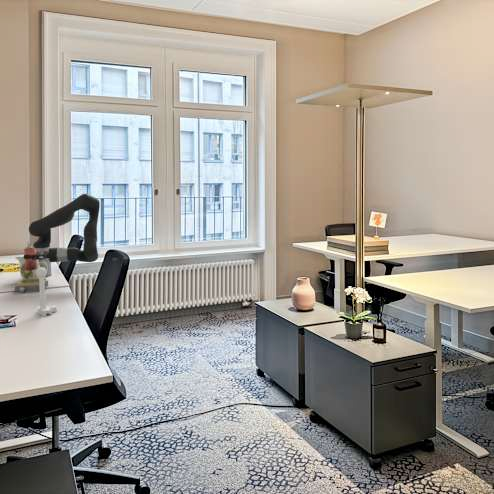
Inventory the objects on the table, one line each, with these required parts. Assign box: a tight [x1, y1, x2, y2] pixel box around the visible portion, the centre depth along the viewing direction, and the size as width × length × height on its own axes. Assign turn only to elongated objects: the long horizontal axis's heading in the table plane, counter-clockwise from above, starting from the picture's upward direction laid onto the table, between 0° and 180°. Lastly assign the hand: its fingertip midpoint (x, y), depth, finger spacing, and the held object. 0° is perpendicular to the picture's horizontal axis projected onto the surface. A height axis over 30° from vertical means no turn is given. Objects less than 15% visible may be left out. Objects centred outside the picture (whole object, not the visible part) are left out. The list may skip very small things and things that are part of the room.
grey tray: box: [14, 278, 49, 293], centre depth 270 cm, size 16×14×4 cm
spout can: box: [23, 241, 37, 270], centre depth 270 cm, size 6×6×15 cm
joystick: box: [36, 267, 57, 317], centre depth 221 cm, size 11×8×20 cm
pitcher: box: [14, 256, 48, 280], centre depth 295 cm, size 11×18×14 cm, turn 93°
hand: (25, 256), depth 269 cm, fingers closed on spout can, 5 cm apart
